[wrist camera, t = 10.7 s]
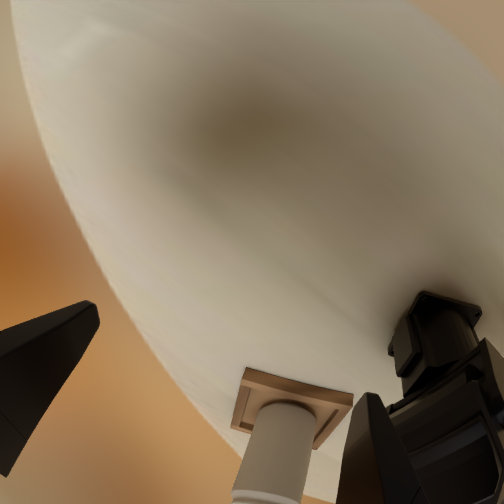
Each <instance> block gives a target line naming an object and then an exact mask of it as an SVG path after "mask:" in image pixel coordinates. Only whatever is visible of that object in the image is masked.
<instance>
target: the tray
mask: <svg viewBox="0 0 504 504" xmlns="http://www.w3.org/2000/svg"><path fill="white" fill-rule="evenodd" d="M278 402H286V403H292V404H296V405H299V406H301V407H303V408H305V409H306V410H307V411H309V412H310V413H311V414H312V415H313V416H314V417H315V419H316V428H315V434H314V440H313V446H312V449H313V450H317V449H318V448H319V447H320V445H321V444H322V443H323V442H324V441H325V440H326V439H327V437H328V436H329V435H330V434H331V433H332V432H333V430H334V429H335V428H336V427H337V426H338V424H339V423H340V422H341V421H342V419H343V418H344V417H345V416H346V414H347V413H348V412H349V411H350V409H351V408H352V407H353V394H348V393H343V392H338V391H334V390H329V389H325V388H320V387H316V386H312V385H308V384H304V383H300V382H296V381H292V380H288V379H285V378H281V377H277V376H274V375H270V374H267V373H263V372H260V371H256V370H253V369H250V368H247V367H246V369H245V372H244V375H243V377H242V380H241V384H240V389H239V393H238V397H237V401H236V405H235V410H234V414H233V418H232V422H231V426H230V428H232V429H235V430H238V431H241V432H245V433H248V434H252V430H253V427H254V424H255V421H256V418H257V415H258V412H259V411H260V410H261V409H262V408H264V407H266V406H268V405H271V404H273V403H278Z"/></svg>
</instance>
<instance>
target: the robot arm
mask: <svg viewBox="0 0 504 504" xmlns="http://www.w3.org/2000/svg"><path fill="white" fill-rule="evenodd" d="M424 297H426V298H425V299H424V300H421V299H422V298H424ZM477 312H478V313H477ZM476 313H477V314H476ZM481 315H482V310H481V308H480V307H478V306H475V305H471V304H468V303H464V302H461V301H457V300H454V299H450V298H447V297H443V296H439V295H436V294H432V293H429V292H424V291H423V292H421V293H419V294H418V296H417V298H416V300H415V301H414V303H413V305H412V307H411V309H410V311H409V313H408V314H407V315H405V316H404V318H403V320H402V322H401V323H400V325H399V327H398V329H397V330H396V332H395V334H394V336H393V337H392V342H391V344H390V346H389V347H388V355H389V356H392V357H394V359H395V368H396V375H397V377H401V379H402V389H403V397H404V398H403V399H402V400H400V401H398V402H397V403H395V404H391V405H389V406H387V407H386V408H385V406H384V404H383V402H382V400H381V398H380V397H379V395H378V394H376V393H370V392H366V393H364V394H363V396H362V397H361V398H360V400H359V401H358V402H357V404H356V405H355V406H354V408H353V411H352V416H351V421H350V425H349V430H348V434H347V439H346V443H345V447H344V452H343V458H342V465H341V473H340V480H339V487H338V493H337V499H336V504H504V358H503V357H502V356H501V355H500V353H499V352H498V351H497V350H496V349H495V348H494V346H493V345H492V344H491V343H490V342H489V341H488V340H487V339H486V338H484V339H483V340H481V341H480V342H479V339H478V337H477V335H476V332H475V330H474V327H475V325H476V324H477V322H478V320H479V319H480V317H481ZM99 325H100V319H99V315H98V310H97V306H96V304H94V303H92V302H90V301H88V300H85V301H81V302H78V303H76V304H73V305H70V306H67V307H65V308H62V309H59V310H56V311H53V312H51V313H48V314H45V315H43V316H40V317H37V318H34V319H31V320H29V321H26V322H23V323H20V324H18V325H15V326H12V327H9V328H7V329H4V330H2V331H0V474H1V475H3V476H4V477H7V476H8V475H9V473H10V471H11V469H12V467H13V465H14V464H15V462H16V460H17V458H18V456H19V455H20V453H21V451H22V450H23V448H24V446H25V444H26V443H27V440H28V439H29V437H30V436H31V434H32V433H33V431H34V429H35V428H36V426H37V424H38V422H39V421H40V419H41V418H42V416H43V415H44V413H45V412H46V410H47V409H48V407H49V405H50V404H51V402H52V401H53V399H54V397H55V396H56V395H57V393H58V392H59V390H60V389H61V387H62V386H63V384H64V383H65V381H66V380H67V378H68V377H69V375H70V374H71V372H72V371H73V370H74V368H75V367H76V365H77V364H78V362H79V361H80V359H81V358H82V356H83V354H84V352H85V351H86V349H87V347H88V345H89V343H90V342H91V340H92V338H93V337H94V335H95V333H96V331H97V330H98V328H99ZM392 350H393V351H392Z"/></svg>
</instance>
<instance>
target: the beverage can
mask: <svg viewBox="0 0 504 504" xmlns="http://www.w3.org/2000/svg"><path fill="white" fill-rule="evenodd" d="M315 428H316V419H315V417H314V416H313V415H312V414H311V413H310V412H309V411H307V410H306V409H305V408H303V407H301V406H299V405H296V404H292V403H286V402H278V403H273V404H271V405H268V406H266V407H264V408H262V409H261V410H260V411H259V412H258V415H257V418H256V421H255V424H254V427H253V430H252V434H251V437H250V440H249V443H248V445H247V448H246V451H245V454H244V457H243V460H242V463H241V466H240V469H239V471H238V475H237V477H236V480H235V483H234V485H233V489H232V491H231V495H232V498H233V501H232V503H231V504H300V503H301V499H302V495H303V490H304V486H305V481H306V476H307V472H308V467H309V462H310V456H311V451H312V446H313V440H314V434H315Z"/></svg>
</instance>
